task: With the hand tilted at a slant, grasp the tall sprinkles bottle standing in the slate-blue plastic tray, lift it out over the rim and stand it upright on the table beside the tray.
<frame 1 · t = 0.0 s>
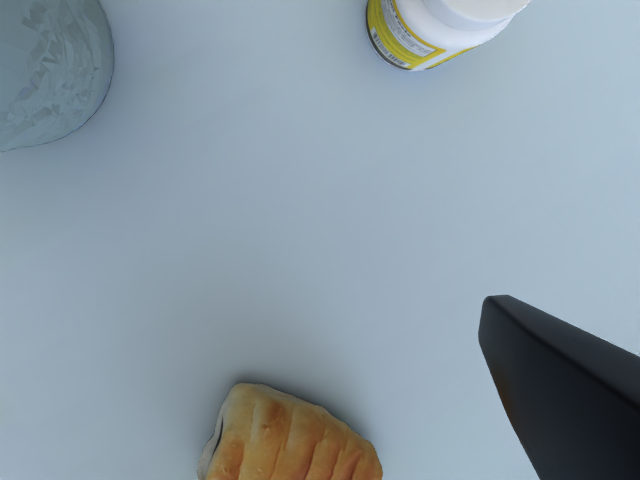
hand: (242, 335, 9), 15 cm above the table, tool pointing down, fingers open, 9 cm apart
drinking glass: (23, 50, 21), on the table
pastry: (282, 436, 27), on the table
supplement bottle: (411, 20, 23), on the table
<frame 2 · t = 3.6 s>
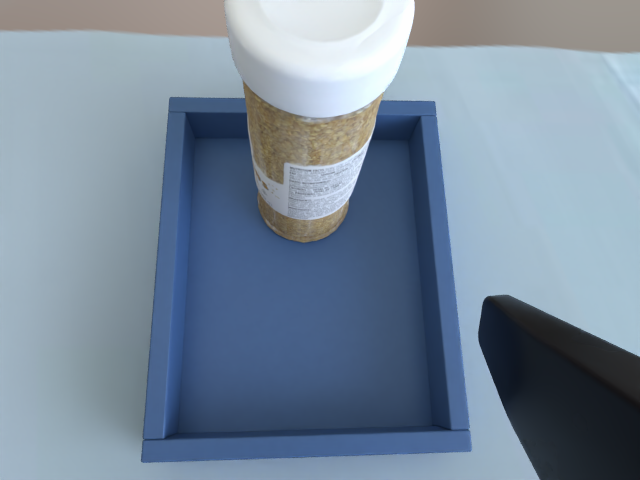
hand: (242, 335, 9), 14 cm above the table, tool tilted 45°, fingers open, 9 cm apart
tray: (305, 273, 23), on the table
sprinkles bottle: (303, 203, 24), resting on tray
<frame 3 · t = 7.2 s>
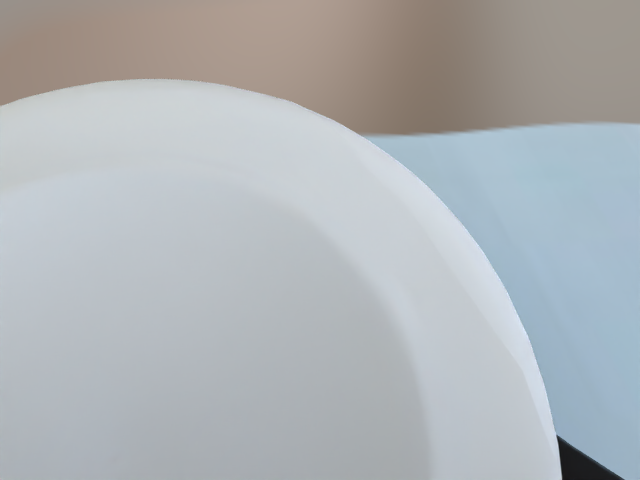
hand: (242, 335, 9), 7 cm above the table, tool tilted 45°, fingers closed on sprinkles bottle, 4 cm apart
sprinkles bottle: (264, 412, 15), resting on tray, touching gripper
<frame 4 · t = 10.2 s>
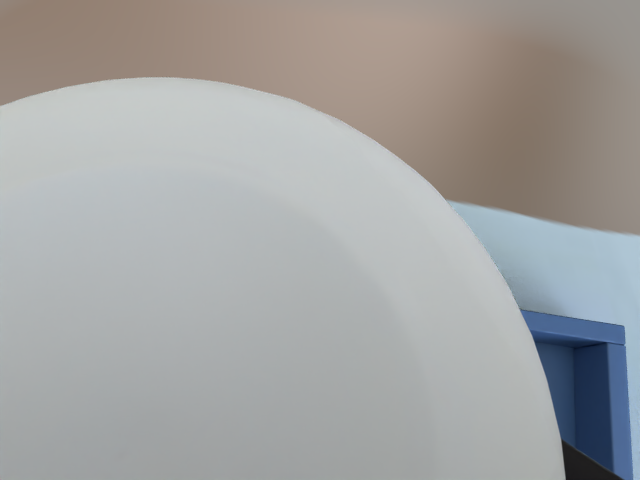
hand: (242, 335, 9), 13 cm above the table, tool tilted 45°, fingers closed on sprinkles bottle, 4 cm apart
sprinkles bottle: (264, 411, 15), point 6 cm above the table, touching gripper
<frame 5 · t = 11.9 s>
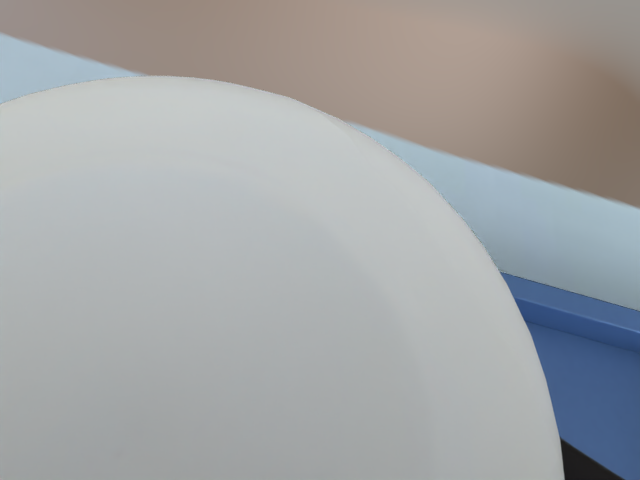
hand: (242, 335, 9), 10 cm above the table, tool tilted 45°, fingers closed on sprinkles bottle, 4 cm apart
sprinkles bottle: (264, 411, 15), point 3 cm above the table, touching gripper
when the fingers open (7 cm above the table, at t = 13.1 s): sprinkles bottle stays where it is, on the table.
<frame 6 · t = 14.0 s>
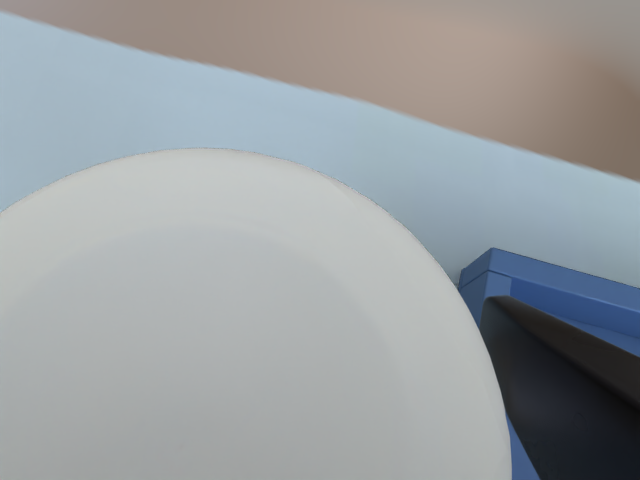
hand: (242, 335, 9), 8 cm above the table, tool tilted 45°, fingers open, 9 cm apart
sprinkles bottle: (265, 410, 16), on the table
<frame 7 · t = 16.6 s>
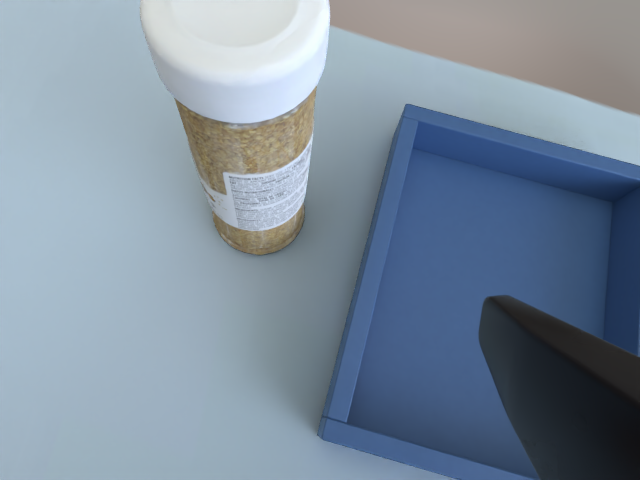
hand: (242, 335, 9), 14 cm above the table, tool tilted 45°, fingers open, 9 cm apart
tray: (486, 303, 23), on the table
sprinkles bottle: (260, 216, 24), on the table
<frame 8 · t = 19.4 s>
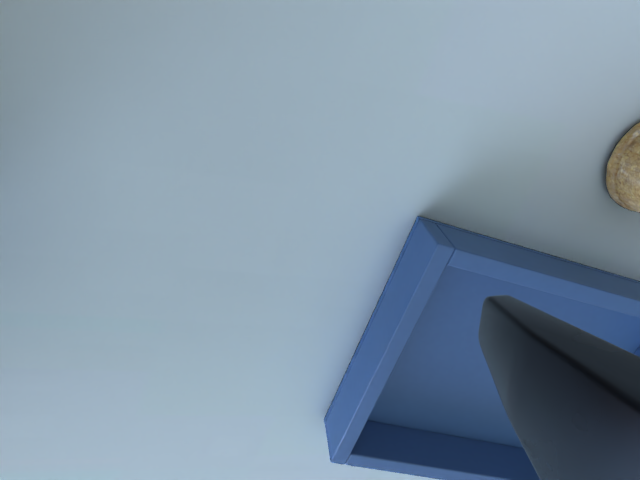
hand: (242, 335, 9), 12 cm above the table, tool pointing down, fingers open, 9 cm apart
tray: (500, 358, 26), on the table
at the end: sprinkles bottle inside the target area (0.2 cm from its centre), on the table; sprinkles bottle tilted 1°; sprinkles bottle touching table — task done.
